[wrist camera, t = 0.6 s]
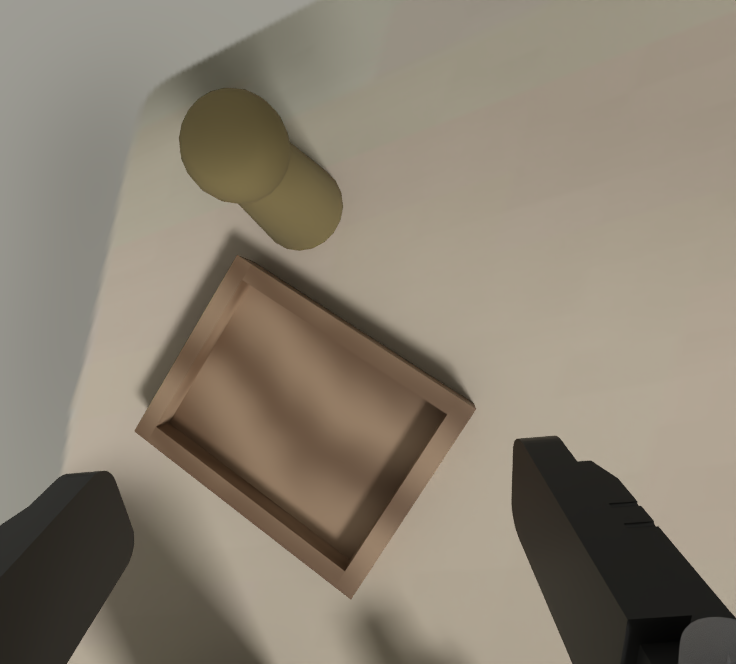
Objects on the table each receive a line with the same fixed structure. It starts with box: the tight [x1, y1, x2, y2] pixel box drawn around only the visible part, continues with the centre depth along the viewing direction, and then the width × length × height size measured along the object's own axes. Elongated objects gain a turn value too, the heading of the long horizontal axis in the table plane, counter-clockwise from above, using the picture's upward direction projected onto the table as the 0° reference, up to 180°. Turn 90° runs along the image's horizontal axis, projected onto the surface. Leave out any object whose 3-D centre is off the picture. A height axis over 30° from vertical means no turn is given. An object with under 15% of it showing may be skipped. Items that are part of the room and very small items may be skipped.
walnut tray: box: [135, 255, 476, 599], centre depth 28 cm, size 14×18×2 cm
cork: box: [179, 88, 343, 251], centre depth 24 cm, size 6×6×11 cm
